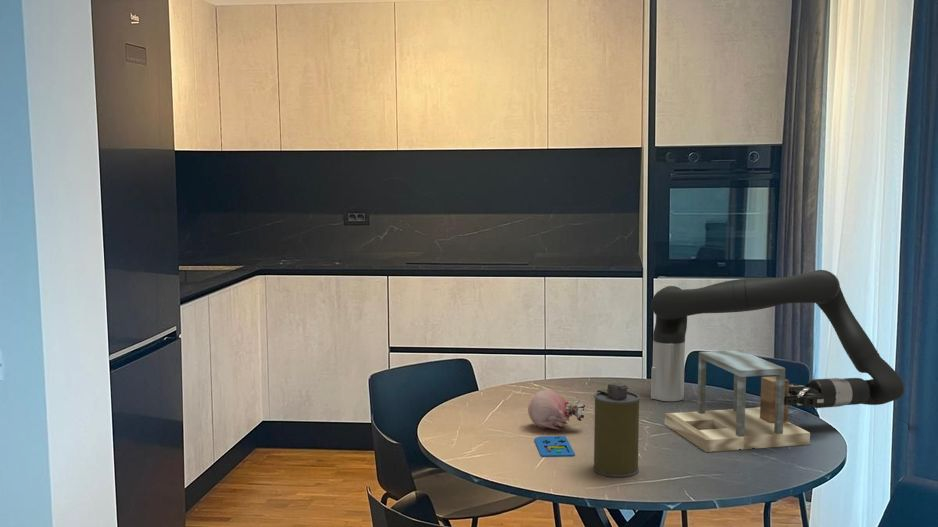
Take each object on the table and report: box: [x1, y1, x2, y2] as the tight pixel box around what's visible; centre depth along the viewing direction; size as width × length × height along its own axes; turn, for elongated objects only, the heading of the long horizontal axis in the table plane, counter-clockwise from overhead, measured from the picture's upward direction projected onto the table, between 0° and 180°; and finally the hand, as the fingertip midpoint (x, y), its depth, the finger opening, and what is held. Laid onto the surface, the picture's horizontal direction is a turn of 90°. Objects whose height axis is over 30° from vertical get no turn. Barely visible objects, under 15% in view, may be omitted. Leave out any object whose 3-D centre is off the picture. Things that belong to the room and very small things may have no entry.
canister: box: [592, 382, 641, 478], centre depth 210 cm, size 11×10×20 cm
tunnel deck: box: [664, 349, 811, 453], centre depth 237 cm, size 28×24×20 cm
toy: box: [527, 389, 586, 432], centre depth 244 cm, size 12×11×15 cm
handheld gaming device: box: [534, 435, 576, 458], centre depth 228 cm, size 8×1×15 cm
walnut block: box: [759, 375, 790, 423], centre depth 240 cm, size 5×5×11 cm
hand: (773, 396), depth 239 cm, fingers open, 8 cm apart
